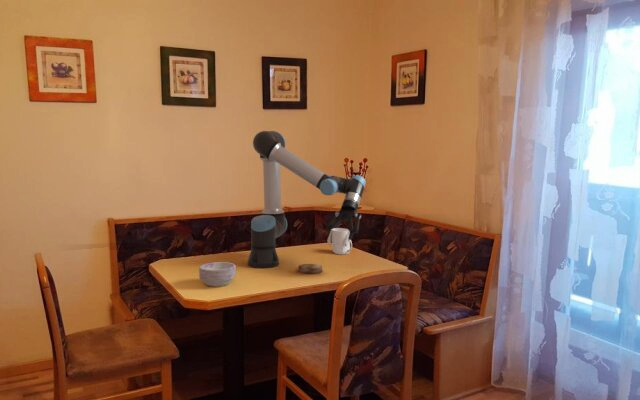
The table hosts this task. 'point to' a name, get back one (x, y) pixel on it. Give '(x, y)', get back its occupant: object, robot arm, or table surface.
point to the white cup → (339, 240)
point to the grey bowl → (217, 273)
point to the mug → (347, 249)
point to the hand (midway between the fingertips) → (337, 243)
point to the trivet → (310, 268)
